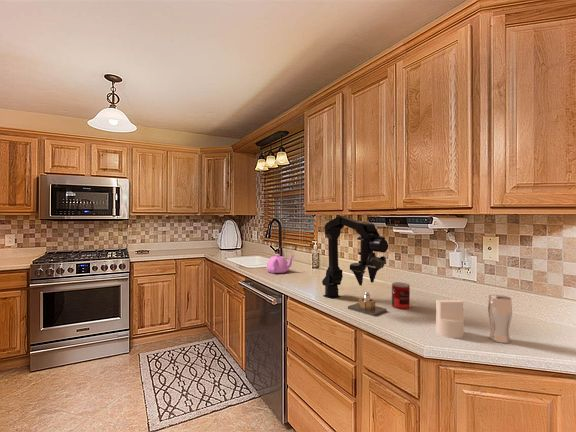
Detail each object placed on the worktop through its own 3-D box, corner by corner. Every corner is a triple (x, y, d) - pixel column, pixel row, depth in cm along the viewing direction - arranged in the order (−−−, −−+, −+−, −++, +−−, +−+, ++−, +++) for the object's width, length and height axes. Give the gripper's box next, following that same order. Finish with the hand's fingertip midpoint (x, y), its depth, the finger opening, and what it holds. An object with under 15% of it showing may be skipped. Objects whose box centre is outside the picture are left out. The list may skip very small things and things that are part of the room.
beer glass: (514, 345, 102) (515, 300, 102) (490, 342, 105) (490, 298, 105) (508, 337, 109) (508, 295, 109) (485, 334, 111) (485, 293, 111)
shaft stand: (347, 308, 141) (347, 291, 141) (360, 304, 148) (360, 288, 148) (374, 316, 131) (374, 297, 131) (386, 311, 138) (386, 293, 138)
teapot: (291, 275, 219) (291, 256, 219) (262, 274, 224) (262, 255, 224) (297, 270, 241) (297, 253, 241) (271, 269, 246) (271, 252, 246)
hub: (356, 307, 140) (356, 299, 140) (364, 304, 145) (364, 296, 145) (369, 310, 135) (369, 302, 135) (377, 307, 139) (377, 300, 139)
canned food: (395, 303, 150) (395, 281, 150) (411, 306, 145) (411, 283, 145) (389, 307, 144) (389, 284, 144) (406, 310, 139) (406, 286, 139)
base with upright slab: (454, 328, 117) (454, 297, 117) (469, 338, 108) (469, 304, 108) (431, 329, 117) (431, 297, 117) (444, 338, 108) (444, 304, 108)
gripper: (370, 253, 128) (370, 290, 128) (393, 250, 141) (393, 284, 141) (349, 251, 137) (348, 285, 137) (372, 248, 149) (372, 280, 149)
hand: (366, 283), depth 141 cm, fingers open, 9 cm apart
